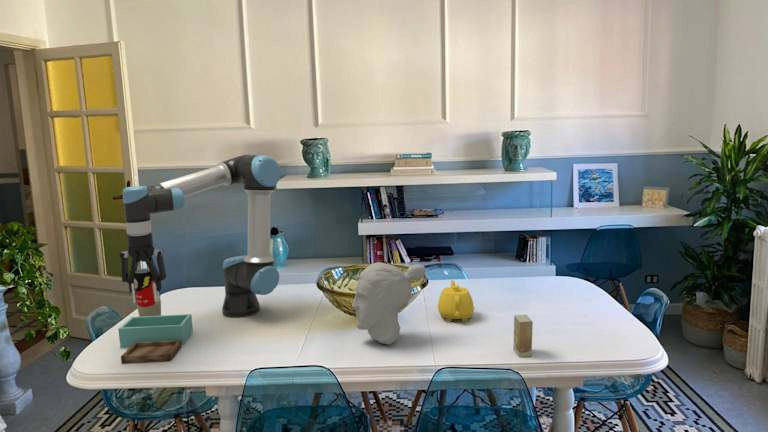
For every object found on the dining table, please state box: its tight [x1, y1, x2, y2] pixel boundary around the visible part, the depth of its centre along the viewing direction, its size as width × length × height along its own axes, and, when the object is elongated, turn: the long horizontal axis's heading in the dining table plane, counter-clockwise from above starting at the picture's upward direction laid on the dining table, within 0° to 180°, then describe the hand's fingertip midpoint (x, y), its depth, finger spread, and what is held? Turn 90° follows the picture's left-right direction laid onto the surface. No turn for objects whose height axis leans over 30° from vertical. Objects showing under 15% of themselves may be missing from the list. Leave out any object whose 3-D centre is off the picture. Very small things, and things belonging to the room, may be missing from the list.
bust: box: [351, 261, 426, 345], centre depth 196 cm, size 15×26×28 cm, turn 99°
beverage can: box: [134, 267, 156, 307], centre depth 187 cm, size 6×6×12 cm
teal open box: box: [118, 313, 194, 348], centre depth 204 cm, size 22×12×7 cm, turn 93°
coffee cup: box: [136, 291, 162, 317], centre depth 217 cm, size 9×9×15 cm
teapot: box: [437, 279, 475, 323], centre depth 218 cm, size 14×20×13 cm
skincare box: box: [513, 314, 534, 358], centre depth 183 cm, size 6×4×12 cm
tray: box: [120, 340, 183, 364], centre depth 191 cm, size 16×12×2 cm
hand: (146, 300), depth 188 cm, fingers closed on beverage can, 6 cm apart
